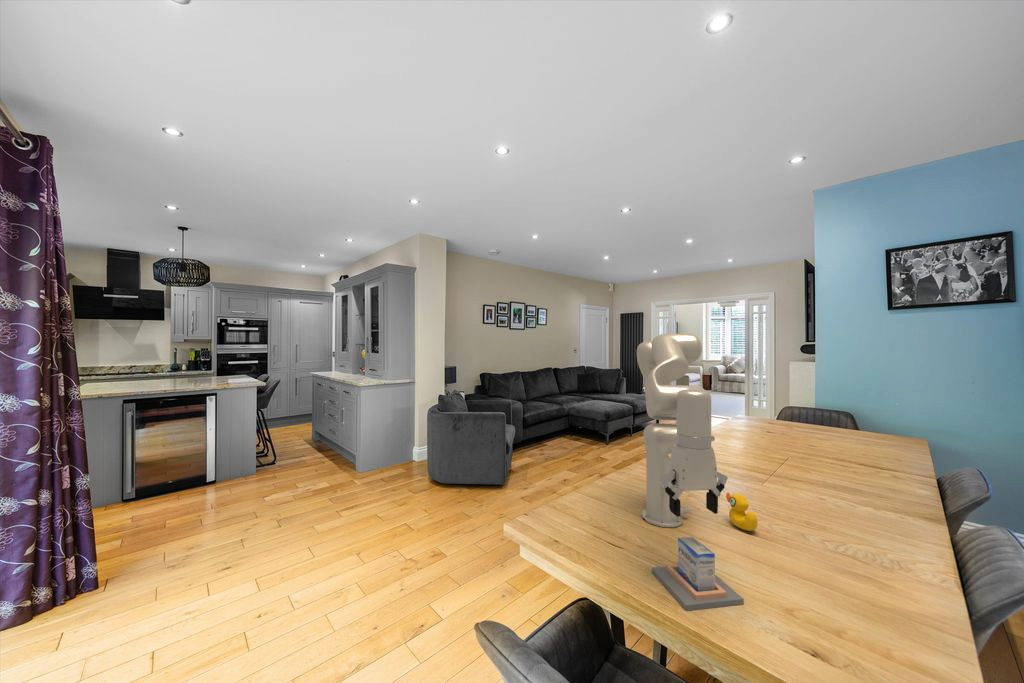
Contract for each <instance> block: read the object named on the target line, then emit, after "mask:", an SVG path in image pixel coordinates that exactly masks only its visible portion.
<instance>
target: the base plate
mask: <svg viewBox="0 0 1024 683" xmlns="http://www.w3.org/2000/svg"><path fill="white" fill-rule="evenodd" d="M677 569H678V563H677V564H676V563H674V564H666V565H663V566H655V567H651V574H653V575H654V577H655V578H656V579H657V580H658V581H659V582H660V583H661V585H662V586H664V587H665V589H666V590H667V591H668V592H669V593H670V595H671V596H672V597H673V598H674V599H675V600H676V601H677V603H678V604H679V605H680V606H681V607H682V608H683V609H684V610H685V611H686V612H690V611H696V610H697V611H699V610H705V609H707V610H708V609H715V608H716V609H717V608H724V607H731V606H732V607H733V606H742V605H744V604H745V603H744V602H745V600H744V597H742V596H741V595H740V594H739V593H738V592H736V591H735V590H734V589H733V588H732V587H731V586H729V585H728V584H727V583H726V582H725V581H724V580H722V579H721V578H720V577H719V576H717V574H715V590H712V591H703V592H697V591H696V590H695V589H694V588H693V587H692V586H691V585H690V584H689V583H688V582H687V581H686V580H685V579H684V578H683V577H682V576H681V575H680V574H679V573H678V572H677Z"/></svg>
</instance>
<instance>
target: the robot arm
mask: <svg viewBox="0 0 1024 683" xmlns="http://www.w3.org/2000/svg"><path fill="white" fill-rule="evenodd" d="M702 346H703V345H702V343H701V340H700V338H699V337H698V336H697V335H696V334H693V333H662V334H658V335H656V336H655V337H654V338H653V339H652V340H648V341H643V342H641V343H639V344H638V346H637V347H636V348H637V349H636V360H637V365H638V368H639V370H640V372H641V375H642V377H643V380H644V394H645V407H646V413H647V415H648V417H649V418H651V419H653V420H659V421H676V424H675V423H674V424H672V423H651V424H648V425H646V426H645V427H644V429H643V442H644V448H645V461H646V466H645V467H646V471H645V473H646V478H645V480H646V508H644V509H643V510H642V511H641V518H642V519H643V518H644V519H645V520H646V522H647V523H649V524H651V525H653V526H657V527H662V528H677V527H680V526H681V525H683V514H692V509H691V508H690V506H687V507H683V505H682V504H681V499H679V498H680V496H681V495H682V493H683V492H696V491H698V492H699V491H706V493H705V494H706V495H705V498H706V500H705V501H706V502H705V505H706V509H707V510H708V511H710V512H711V513H712V514H714V515H716V514H718V513H719V512H718V510H719V497H720V496H722V495H721V493H722V492H723V490H724V489H725V488H726V486H725V485H726V484H727V481H728V479H729V478H728V476H727V475H725V474H724V473H721V472H719V471H718V469H717V468H718V467H717V460H716V454H715V449H714V447H712V442H715V440H716V438H715V436H714V435H712V396H711V394H710V392H708V391H707V390H706V389H705V388H703V387H702V386H698V385H684V384H682V385H680V384H678V385H676V384H671V383H672V382H675V381H677V380H680V379H681V378H683V377H684V376H685V375H686V374H687V373H688V371H689V368H690V367H689V366H690V364H693V363H694V362H696V361H698V360H699V359H700V357H701V356H702V351H703V347H702ZM669 455H670V456H669ZM644 519H643V520H644ZM645 520H644V521H645Z"/></svg>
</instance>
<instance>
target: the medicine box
mask: <svg viewBox="0 0 1024 683" xmlns="http://www.w3.org/2000/svg"><path fill="white" fill-rule="evenodd" d="M677 564H678V569H677V572H678V573H679V574H680V575H681V576H682V577H683V578H684V579H685V580H686V581H687V582H688V583H689V584H690V585H691V586H692V587H693V588H694V589H695V590H696V591H697V592H703V591H712V590H715V575H716V554H715V553H714V552H713V551H711V550H710V549H709V548H707V546H705V545H704V544H703V543H701V542H700V541H699V540H697V539H696V538H695V537H693V536H684V537H683V536H682V537H678V538H677Z"/></svg>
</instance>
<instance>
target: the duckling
mask: <svg viewBox="0 0 1024 683" xmlns="http://www.w3.org/2000/svg"><path fill="white" fill-rule="evenodd" d="M725 495H726V500H727V502H728V503H729V505H730V507H731V508H730V509H729V512H728V515H729V519H730V520H731V523H732V524H733V525H734V526H736V527H737V528H739V529H741V530H742V531H748V532H751V531H752V532H753V531H755V530H756V529H757V527H758V518H757V516H756V513H754V512H752V511H748V512H747V513H746V511H747V510H748V508H749V502H748V500H747V498H746V497H745V496H744V495H742V494H739V493H735V494H731V493H730V492H726V494H725Z"/></svg>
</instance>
